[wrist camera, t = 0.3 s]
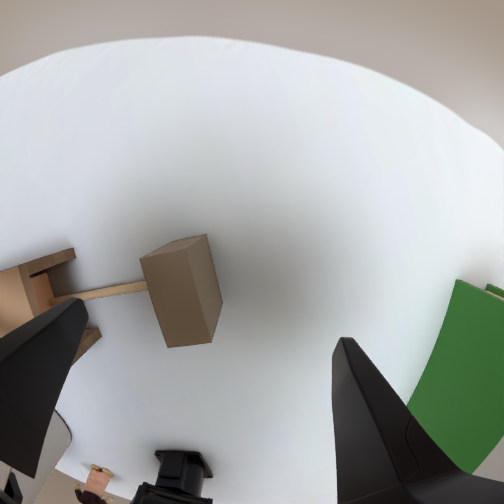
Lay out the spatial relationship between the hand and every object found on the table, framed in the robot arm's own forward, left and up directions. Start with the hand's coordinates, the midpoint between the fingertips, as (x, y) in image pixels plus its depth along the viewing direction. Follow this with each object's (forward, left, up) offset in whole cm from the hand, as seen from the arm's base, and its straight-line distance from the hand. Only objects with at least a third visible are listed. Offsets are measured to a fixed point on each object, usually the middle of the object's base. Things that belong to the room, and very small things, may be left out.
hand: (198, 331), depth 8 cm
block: (-1, +14, -14) cm, 20 cm away
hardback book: (-17, -23, -14) cm, 32 cm away
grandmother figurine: (-33, +31, -14) cm, 48 cm away
